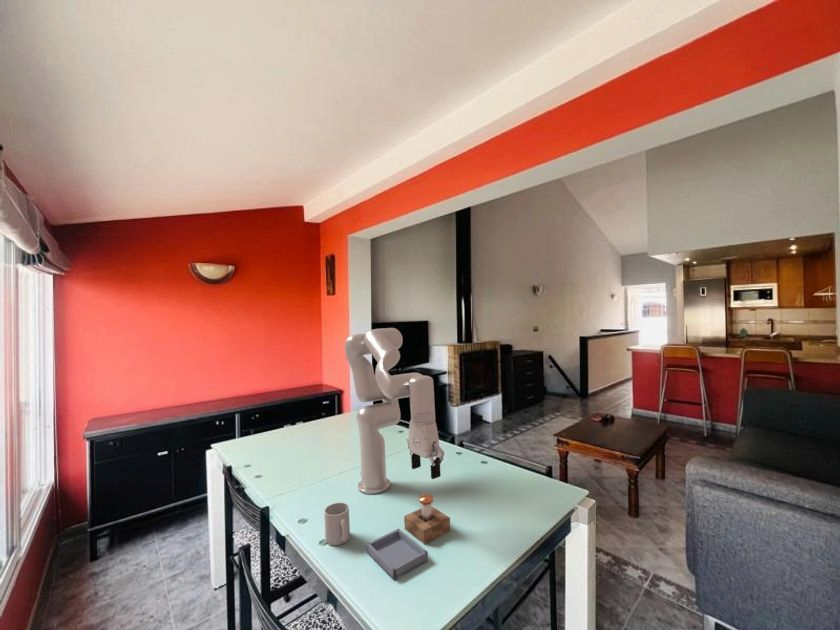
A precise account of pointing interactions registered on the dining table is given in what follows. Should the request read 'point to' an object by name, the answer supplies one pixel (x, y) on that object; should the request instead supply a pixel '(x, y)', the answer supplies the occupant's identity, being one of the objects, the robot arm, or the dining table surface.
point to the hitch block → (427, 525)
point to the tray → (396, 553)
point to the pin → (426, 506)
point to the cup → (337, 523)
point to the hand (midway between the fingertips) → (425, 472)
